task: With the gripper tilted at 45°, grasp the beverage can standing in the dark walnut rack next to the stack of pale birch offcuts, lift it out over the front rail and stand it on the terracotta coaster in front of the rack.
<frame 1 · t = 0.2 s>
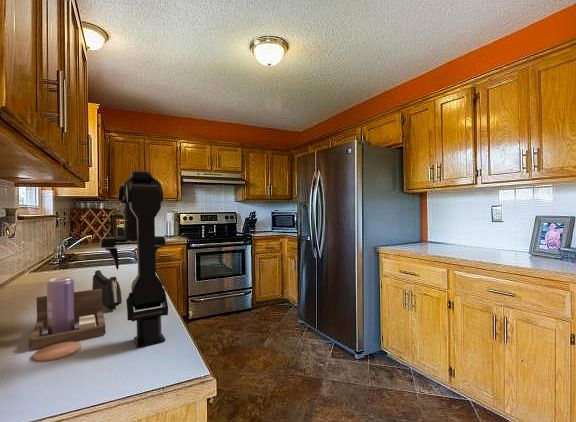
hand: (133, 268, 102), 15 cm above the counter, tool pointing down, fingers open, 9 cm apart
beverage can: (61, 334, 85), resting in walnut rack
terracotta coaster: (58, 352, 73), on the counter
offcut stack: (87, 332, 87), resting in walnut rack
walnut rack: (70, 331, 86), on the counter
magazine: (106, 303, 115), on the counter
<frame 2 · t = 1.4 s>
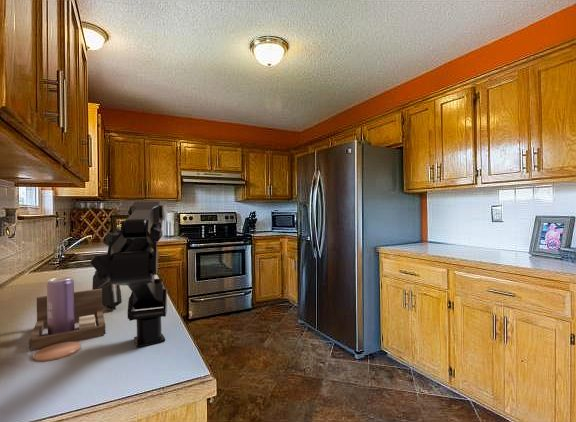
hand: (110, 283, 86), 13 cm above the counter, tool tilted 45°, fingers open, 9 cm apart
nothing on the counter moved.
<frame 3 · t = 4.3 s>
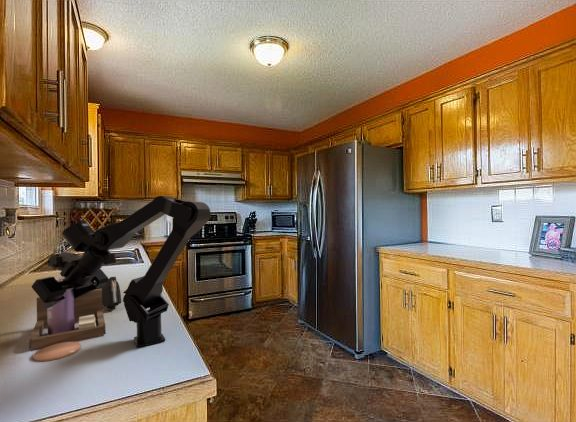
hand: (56, 303, 85), 8 cm above the counter, tool tilted 45°, fingers closed on beverage can, 6 cm apart
beverage can: (61, 334, 85), resting in walnut rack, touching gripper
everything else where it was.
when the fingers open (10 cm above the counter, at t = 8.5 s): beverage can stays where it is, resting on terracotta coaster.
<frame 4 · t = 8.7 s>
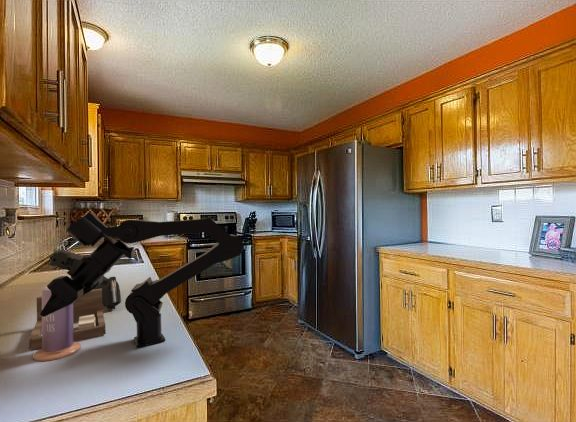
hand: (50, 310, 73), 10 cm above the counter, tool tilted 45°, fingers open, 8 cm apart
beverage can: (58, 349, 73), resting on terracotta coaster
everything else where it was.
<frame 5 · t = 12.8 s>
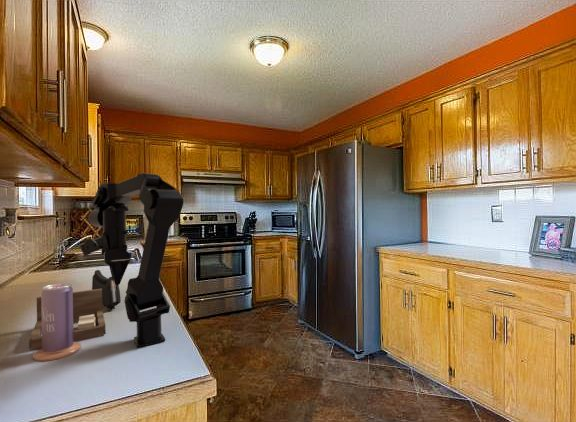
hand: (115, 281, 89), 13 cm above the counter, tool pointing down, fingers open, 9 cm apart
nothing on the counter moved.
at the end: beverage can 0.1 cm off-centre on the terracotta coaster, point 0.4 cm above the terracotta coaster's base; beverage can tilted 0°; offcut stack moved 0.6 cm from its start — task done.
